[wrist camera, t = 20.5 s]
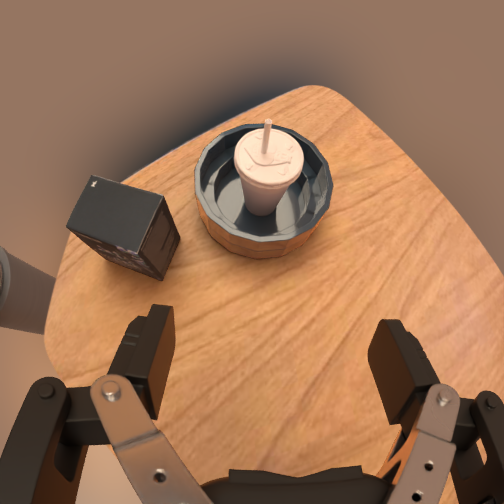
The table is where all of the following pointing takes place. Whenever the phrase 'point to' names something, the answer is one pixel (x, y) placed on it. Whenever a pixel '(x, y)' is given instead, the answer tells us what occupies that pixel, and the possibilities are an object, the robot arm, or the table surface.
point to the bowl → (233, 204)
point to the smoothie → (267, 167)
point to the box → (126, 226)
